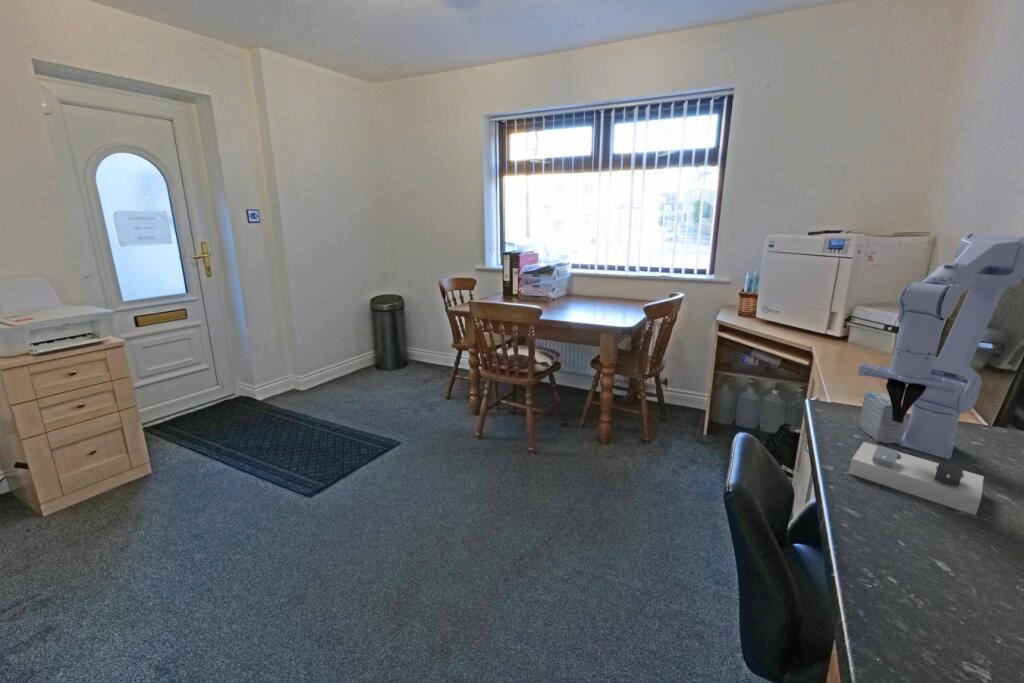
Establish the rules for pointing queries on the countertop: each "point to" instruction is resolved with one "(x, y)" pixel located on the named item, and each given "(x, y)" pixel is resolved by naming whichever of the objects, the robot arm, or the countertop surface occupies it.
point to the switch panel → (918, 479)
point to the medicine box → (880, 419)
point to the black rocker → (948, 475)
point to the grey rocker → (885, 456)
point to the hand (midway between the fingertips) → (897, 420)
